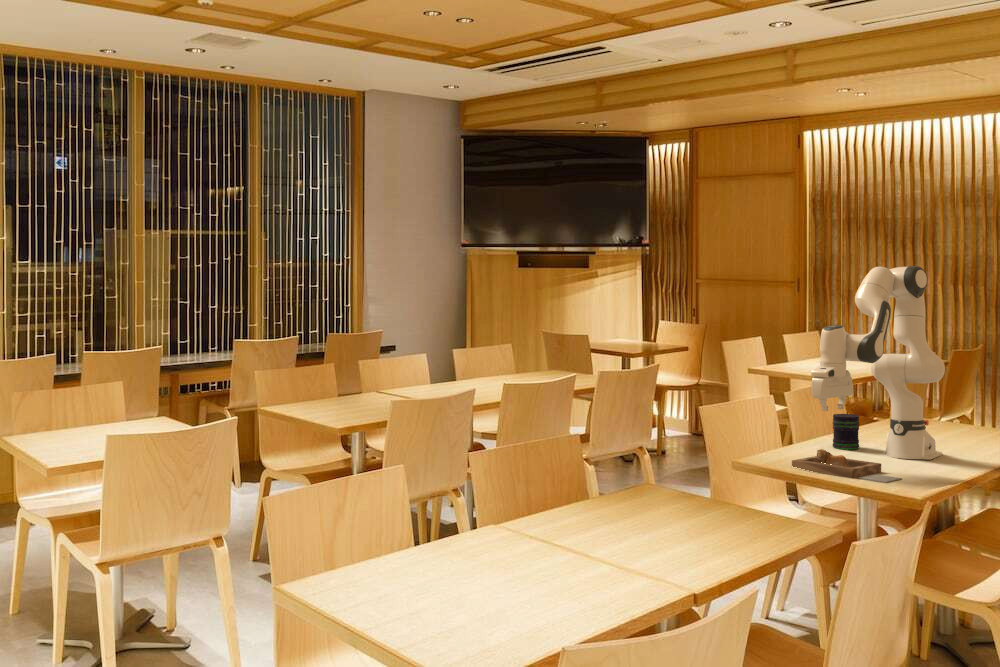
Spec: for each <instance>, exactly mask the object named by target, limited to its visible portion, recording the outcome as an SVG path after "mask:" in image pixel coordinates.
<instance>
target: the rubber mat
mask: <svg viewBox="0 0 1000 667" xmlns="http://www.w3.org/2000/svg"><path fill="white" fill-rule="evenodd" d="M857 479H858V480H863V481H871V482H877V483H882V484H887V483H888V484H889V483H891V482H897V481H900V480H901V481H902V480H903V478H902V477H896V476H890V475H883V474H879V473H875V474H870V475H865V476H861V477H857Z"/></svg>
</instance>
